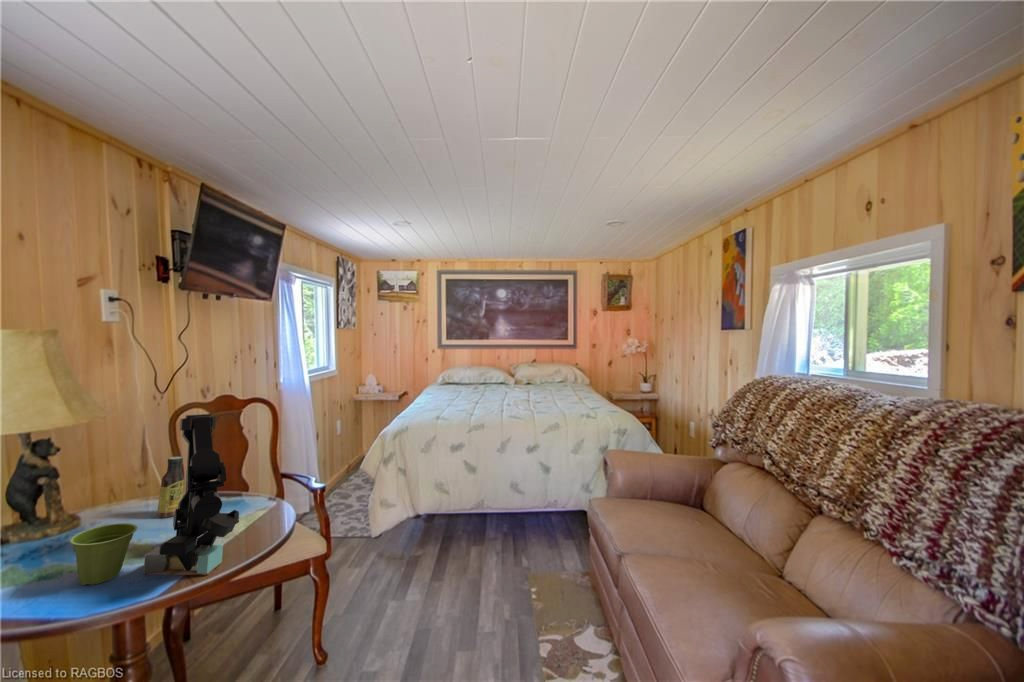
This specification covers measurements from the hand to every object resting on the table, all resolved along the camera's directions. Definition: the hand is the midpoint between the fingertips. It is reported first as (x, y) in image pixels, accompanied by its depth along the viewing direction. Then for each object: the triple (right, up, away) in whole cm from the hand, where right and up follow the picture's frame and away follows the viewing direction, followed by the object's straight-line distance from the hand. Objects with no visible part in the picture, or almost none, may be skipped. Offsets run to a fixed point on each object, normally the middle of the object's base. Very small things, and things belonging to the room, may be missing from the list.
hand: (196, 564), depth 102 cm
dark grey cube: (-9, 0, -1) cm, 9 cm away
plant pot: (-20, 0, -6) cm, 21 cm away
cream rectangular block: (-2, -1, 0) cm, 2 cm away
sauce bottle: (-35, -1, +31) cm, 47 cm away
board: (-3, -1, 0) cm, 3 cm away
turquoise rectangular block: (+3, -1, 0) cm, 3 cm away
